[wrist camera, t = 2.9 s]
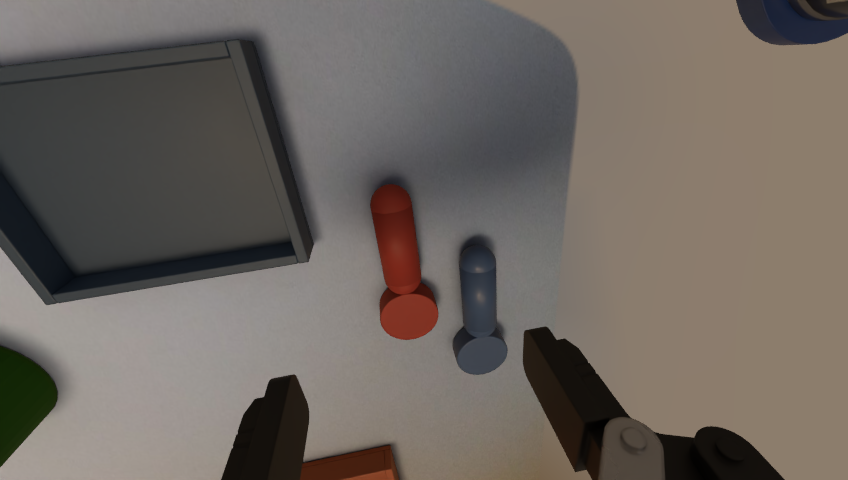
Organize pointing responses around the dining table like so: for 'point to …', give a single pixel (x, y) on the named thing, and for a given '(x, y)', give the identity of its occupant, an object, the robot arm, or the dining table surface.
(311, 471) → the red tray
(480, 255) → the blue spoon
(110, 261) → the dark grey tray
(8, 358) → the candle
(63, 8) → the dining table surface
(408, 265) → the red spoon
